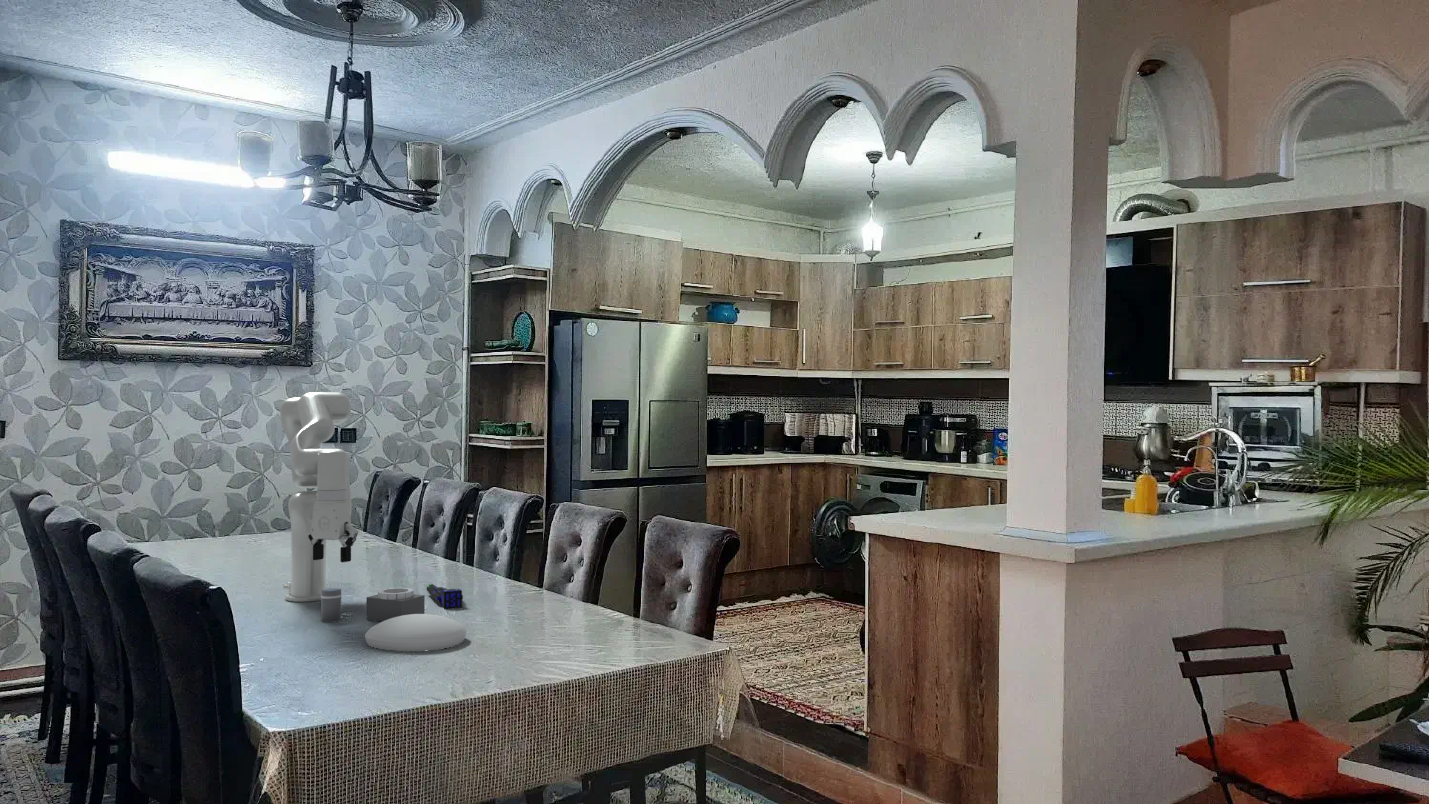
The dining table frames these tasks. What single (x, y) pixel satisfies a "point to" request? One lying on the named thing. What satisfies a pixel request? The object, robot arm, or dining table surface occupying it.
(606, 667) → the dining table surface
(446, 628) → the decorative item
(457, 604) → the toy
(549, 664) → the dining table surface
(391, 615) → the camera body
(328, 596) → the lens
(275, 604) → the dining table surface
